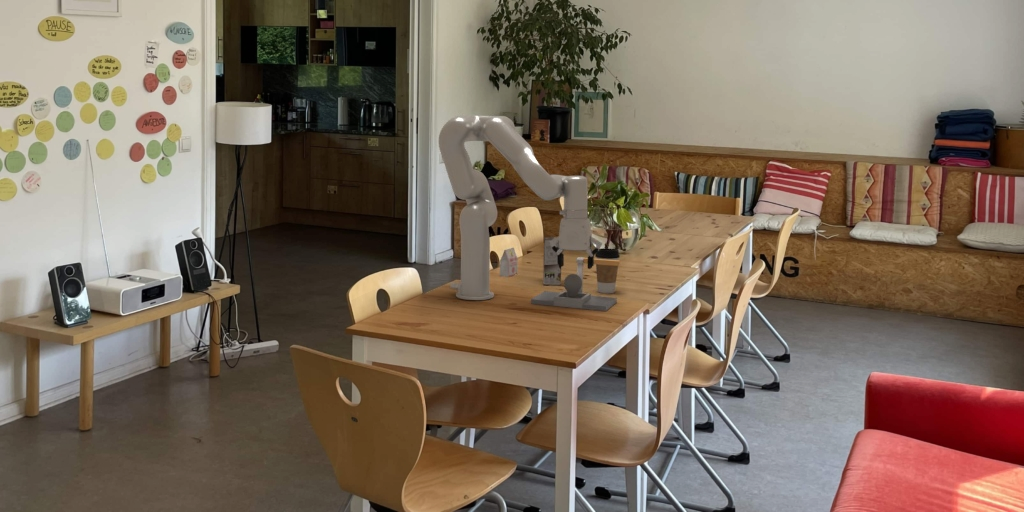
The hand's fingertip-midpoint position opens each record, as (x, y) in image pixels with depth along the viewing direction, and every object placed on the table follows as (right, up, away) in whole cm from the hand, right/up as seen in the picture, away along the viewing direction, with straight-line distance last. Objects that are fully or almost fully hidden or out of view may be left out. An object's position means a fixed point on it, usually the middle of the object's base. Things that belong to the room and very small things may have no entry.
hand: (575, 267), depth 306 cm
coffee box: (-6, -6, +37) cm, 38 cm away
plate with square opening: (0, -12, +4) cm, 12 cm away
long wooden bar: (+8, +1, +6) cm, 10 cm away
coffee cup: (+12, -9, +23) cm, 27 cm away
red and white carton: (-22, -4, +49) cm, 54 cm away
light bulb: (-1, -12, +2) cm, 12 cm away
